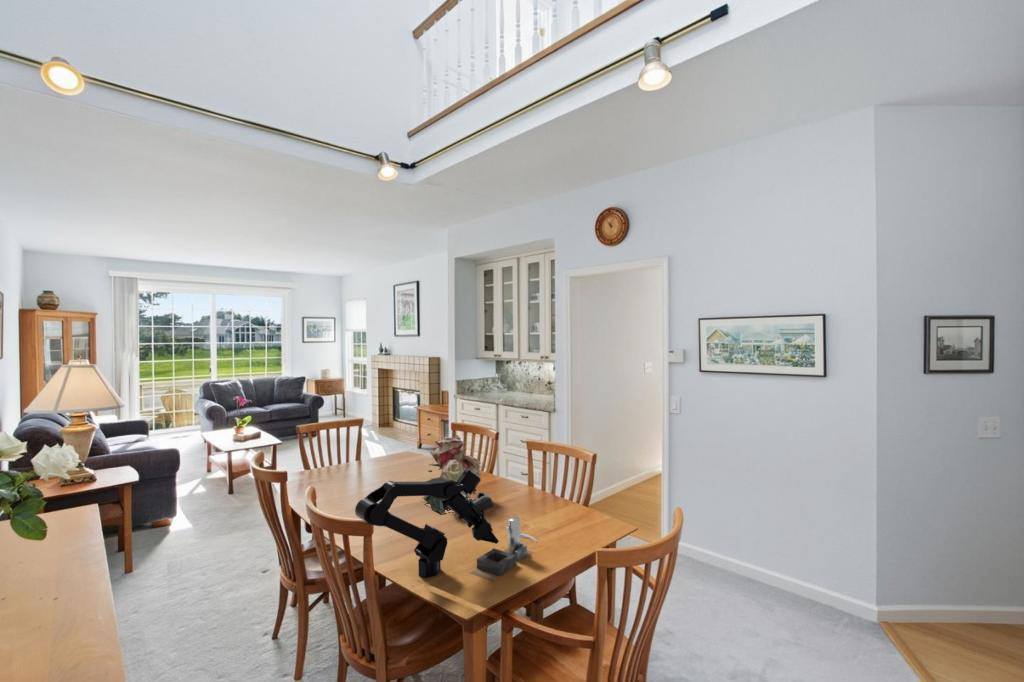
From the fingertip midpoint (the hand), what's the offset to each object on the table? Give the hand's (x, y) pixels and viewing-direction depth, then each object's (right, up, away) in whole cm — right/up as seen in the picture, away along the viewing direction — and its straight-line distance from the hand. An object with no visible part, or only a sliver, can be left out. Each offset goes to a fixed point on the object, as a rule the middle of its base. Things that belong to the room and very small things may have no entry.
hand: (494, 536), depth 157 cm
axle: (+7, -7, +2) cm, 10 cm away
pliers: (+8, -9, +20) cm, 23 cm away
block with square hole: (+3, -8, -3) cm, 10 cm away
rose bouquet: (-20, -8, +57) cm, 61 cm away
